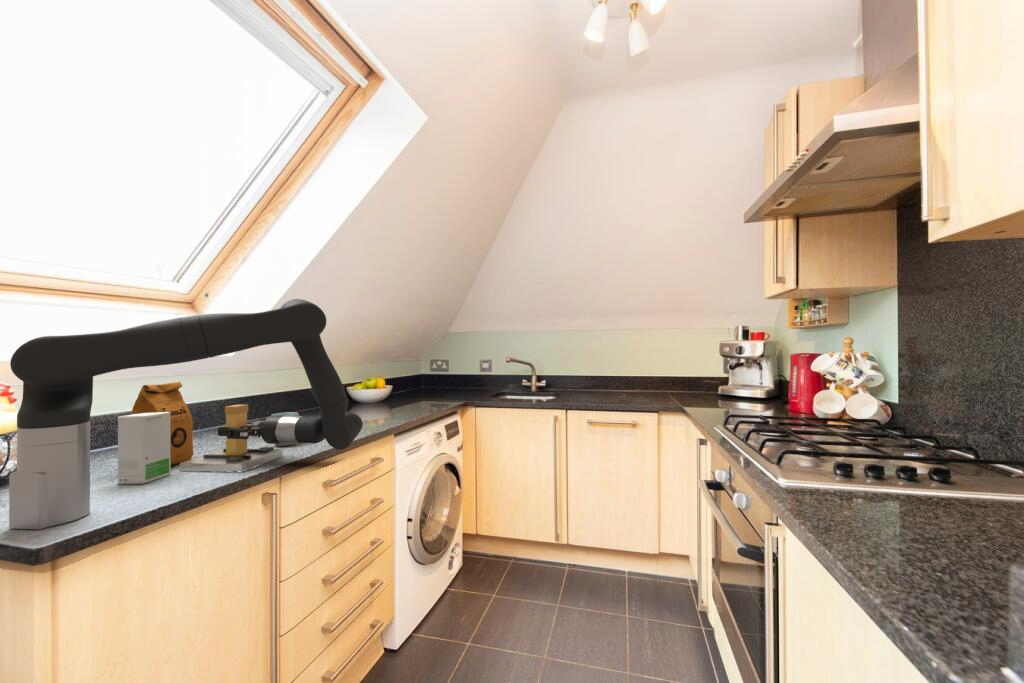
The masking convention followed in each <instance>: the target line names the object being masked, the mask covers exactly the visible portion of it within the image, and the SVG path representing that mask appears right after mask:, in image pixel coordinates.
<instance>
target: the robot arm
mask: <svg viewBox="0 0 1024 683" xmlns="http://www.w3.org/2000/svg"><path fill="white" fill-rule="evenodd" d="M326 325H327V317H326V314H325V312H324V311H323V309H322V308H321V307H320V306H318V305H317V304H315V303H314V302H311V301H308V300H306V299H300V298H295V299H294V298H293V299H290V300H288V301H286V302H284V303H283V304H282V305H281V307H280V308H276V309H275V308H274V309H271V310H266V311H261V312H253V313H252V312H251V313H250V312H249V313H245V312H244V313H243V312H242V313H241V312H240V313H239V312H238V313H237V312H236V313H235V312H234V313H233V312H232V313H231V312H227V313H226V312H224V313H223V312H222V313H221V312H220V313H205V314H203V313H202V314H198V315H197V314H196V315H189V316H183V317H175V318H169V319H165V320H159V321H155V322H151V323H145V324H142V325H137V326H133V327H129V328H125V329H120V330H114V331H108V332H107V331H106V332H97V333H84V334H70V335H69V334H68V335H47V336H46V335H45V336H40V337H35V338H33V339H30V340H28V341H26V342H25V343H23V344H22V345H20V346H19V347H18V348H17V349H16V350H15V351H14V352H13V354H12V356H11V359H10V362H9V363H10V364H9V365H10V369H11V371H12V373H13V374H14V376H15V377H16V378H18V379H19V380H20V381H22V384H23V385H22V400H21V404H20V406H19V409H18V412H17V415H16V470H15V471H13V472H11V473H10V474H9V476H8V477H9V478H8V479H9V480H8V481H9V482H8V483H9V484H8V485H9V487H8V488H9V494H8V496H9V498H8V501H9V502H8V503H9V504H8V505H9V506H8V507H9V508H8V509H9V510H8V516H9V517H8V529H14V528H15V529H18V530H42V529H45V528H49V527H53V526H58V525H62V524H66V523H69V522H73V521H77V520H80V519H82V518H84V517H85V516H88V515H89V514H90V512H91V411H92V406H93V401H94V400H93V399H94V398H93V396H94V394H93V392H94V389H93V388H94V377H96V376H100V375H104V374H108V373H112V372H113V373H114V372H117V371H121V370H129V369H135V368H136V369H137V368H146V367H148V368H149V367H157V366H167V365H168V366H169V365H174V364H183V363H184V364H185V363H189V362H194V361H195V362H196V361H199V360H200V361H201V360H204V359H209V358H210V359H211V358H214V357H215V358H216V357H219V356H223V355H228V354H231V353H233V354H234V353H237V352H242V351H245V350H249V349H253V348H257V347H260V346H265V345H275V344H283V343H284V344H285V343H291V345H292V346H293V347H294V349H295V351H296V354H297V355H298V356H297V357H298V358H299V359H300V362H301V364H302V366H303V369H304V371H305V374H306V377H307V380H308V383H309V384H310V387H311V391H312V393H313V395H314V398H315V400H316V403H317V405H318V408H319V410H320V415H319V416H302V415H299V416H292V415H272V414H271V415H272V416H271V415H270V416H268V417H267V418H265V419H264V420H257V421H252V422H247V424H244V425H241V426H240V427H226V426H219V427H218V428H217V436H219V437H226V436H227V438H228V439H247V440H249V438H252V439H260V438H262V441H264V442H265V443H266V444H271V445H275V444H293V445H296V444H318V443H321V442H322V441H324V440H326V442H327V444H328V445H329V446H330V447H332V448H333V449H335V450H345V449H347V448H349V446H351V445H352V443H353V442H354V440H355V439H356V438H357V436H358V435H359V433H360V432H361V431H362V429H363V426H364V423H363V420H362V418H361V417H360V415H358V414H356V413H354V412H351V411H347V409H348V407H349V399H348V395H347V393H346V390H345V388H344V385H343V382H342V380H341V378H340V376H339V374H338V372H337V370H336V368H335V366H334V364H333V363H332V361H331V359H330V357H329V355H328V354H327V351H326V349H325V346H324V344H323V341H322V338H321V334H322V333H323V332H324V331H325V328H326ZM245 427H247V428H245ZM244 428H245V429H244Z"/></svg>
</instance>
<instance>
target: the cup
mask: <svg viewBox="0 0 1024 683" xmlns="http://www.w3.org/2000/svg"><path fill="white" fill-rule="evenodd" d="M272 415H292V416H300V415H299V412H295V411H293V412H292V411H287V412H277V413H273V414H271V415H270V416H272ZM274 445H275V446H276V447H280V446H284V447H290V446H293V445H294V444H274ZM289 445H290V446H289Z"/></svg>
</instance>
